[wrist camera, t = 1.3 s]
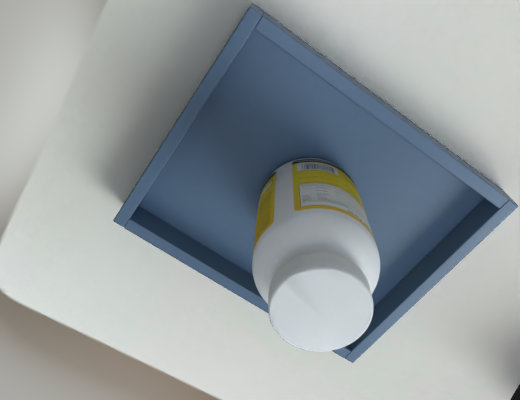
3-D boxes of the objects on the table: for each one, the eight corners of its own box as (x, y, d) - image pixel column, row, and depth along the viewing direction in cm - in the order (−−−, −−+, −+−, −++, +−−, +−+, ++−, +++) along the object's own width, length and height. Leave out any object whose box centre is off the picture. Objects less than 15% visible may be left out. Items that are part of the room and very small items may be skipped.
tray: (123, 204, 33) (112, 221, 31) (252, 2, 28) (250, 6, 25) (348, 340, 37) (352, 363, 35) (503, 190, 32) (519, 206, 29)
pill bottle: (268, 249, 34) (261, 375, 23) (250, 162, 31) (232, 261, 21) (363, 235, 33) (400, 359, 23) (352, 146, 30) (388, 239, 20)
